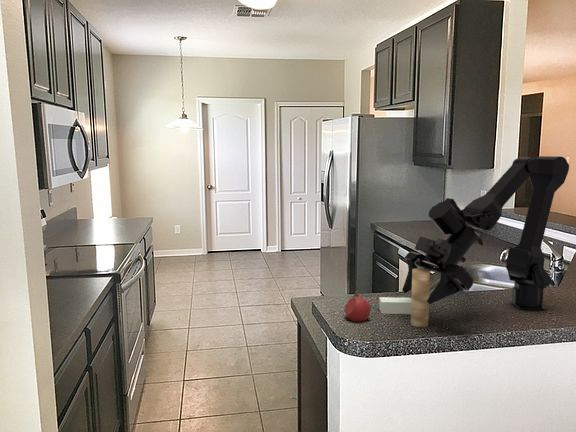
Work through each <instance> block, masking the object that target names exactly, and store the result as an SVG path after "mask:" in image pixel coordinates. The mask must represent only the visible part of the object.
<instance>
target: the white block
mask: <svg viewBox="0 0 576 432" xmlns="http://www.w3.org/2000/svg"><path fill="white" fill-rule="evenodd" d="M378 305H379V306H378V309H379V311H380V314H384V315H386V314H387V315H411V297H386V296H385V297H383V296H380V297H379V298H378Z"/></svg>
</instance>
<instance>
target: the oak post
mask: <svg viewBox="0 0 576 432" xmlns="http://www.w3.org/2000/svg"><path fill="white" fill-rule="evenodd" d="M430 282H431V271H430V270H429V269H424V268H415V269H412V289H411V297H410V298H411V314H410V325H411V326H412V327H417V328H427V327H428V326H429V315H430V313H429V311H430V310H429V309H430V304H429V303H428V302H427V300H428V298H429V296H430V290H431V289H430V287H431V284H430Z"/></svg>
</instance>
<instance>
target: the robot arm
mask: <svg viewBox="0 0 576 432" xmlns="http://www.w3.org/2000/svg"><path fill="white" fill-rule="evenodd" d="M511 164H512V165H510V167H509V168H508V169H507V170H506V172H504V174H503V175H501V177H500V178H499V179H498V180H497V181H496V182H495V184H493V185H492V186H491V188H490V189H489V190H488V191H487V192H485V194H484V195H482V196H479V197H478V198H475V199H474V200H472V201H471V202H470V203H468V204H466V206H464V208H463V209H461V208H460V207H459V206H458V204H457V202H456V201H455V199H454V198H450V197H449V198H448V197H447V198H445V200H444V201H441V202H438V203H437V204H435V205H433V206H432V207H431V208H430V209H429V212H428V217H429V218H430V220H432V222H433V223H434V225H435V226H436V228H438V229H439V231H440V232H441V233H442V234H443V235H447V237H446V238H445V239H443V238H437V239H435V240H434V239H431V238H427V237H424V236H419V237H418V239H417V242H416V244H415V245H414V246H415V247H414V250H416V251H420V252H422V253H424V255H423V254H422V253H420V252H419V253H418V252H416V251H408V253H407V254H406V255H405V256H404V260H405V264H407V269H408V271H407V274H406V275H407V276H406V278H405V282H404V283H403V287H402V290H401V291H402V293H404V294H406V293H408V292H409V291H412V269H415V268H424V269H429V270H430V272H433V273H436V274H438V275H440V276H439V277H440V279H439V282H438V284H436V286H435V287H434V289H433V290H432V291H431V294H429V298H428V300H427V302H428V303H429V305H432V304H434V303H437V302H438V301H440V300H442V299H445V298H447V297H449V296H452V295H455V294H457V293H459V292H461V293H462V292H463V291H467V292H469V290H471V288H472V287H473V286H474V278H473V277H472V276H471V274H470V273H469V272H468V270H466V268H465V267H464V266H461V265H459V264H460V263H463V264H464V263H465V262H466V261H467V259H466V258H465V256H466V255H467V253H468V252H469V251H470V249H471V248H472V247H473V246H474V245H477V246H480V247H481V246H483V245H484V240H483V235H482V234H481V233H478V232H477V231H476V230H475V229H477V230H481V231H482V230H483V231H491V230H492V229H494V228H495V227H496V224H497V223H498V221H499V220H500V219H501V217H502V212H503V208H504V206H505V204H507V202H508V201H509V200H510V199H511V198H512V197H513V196H514V194H516V192H517V191H518V190H519V189H520V188H521V187H522V186H523V184H524V183H525V182H526V181H527V180H528V179H529V181H530V183H531V186H532V193H531V197H530V201H529V204H528V209H527V213H526V216H525V220H524V225H523V228H522V233H521V235H520V240H519V243H518V244H517V245H515V246H514V247H512V246H511V247H509V248H508V250H507V251H508V252H507V257H506V259H505V261H504V262H505V263H506V265H505V269H506V270H507V274H508V278H509V281H511V282H512V281H513V283H514V286H512V287H511V288H512V289H511V300H510V303H511V304H512V305H513V306H515V307H516V308H517V309H519V310H523V311H525V310H528V311H529V310H533V311H538V310H539V311H545V310H546V307H544V305H543V303H544V300H543V299H544V292H545V291H544V289H546V288H547V287H550V285H551V283H552V277H551V276H550V274H549V273H548V272H547V270H546V269H545V268H544V267H545V266H544V265H545V257H544V253H543V250H542V243H543V239H544V235H545V233H546V232H545V231H546V228H547V224H548V221H549V220H548V219H549V217H550V216H549V215H550V211H551V209H552V205H553V200H554V197H555V193H556V192H557V190H558V189H560V188H561V187H562V186H563V185H564V184H565V181H566V179H567V176H568V173H569V171H570V164H569V163H568V161H567V159H566V158H565V157H564V156H560V155H559V156H557V155H556V156H551V155H548V156H547V155H545V156H544V155H543V156H542V155H541V156H540V155H539V156H536V158H534V157H517V158H515V159H514V160H513V161H512V163H511ZM427 259H428V260H427Z"/></svg>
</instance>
